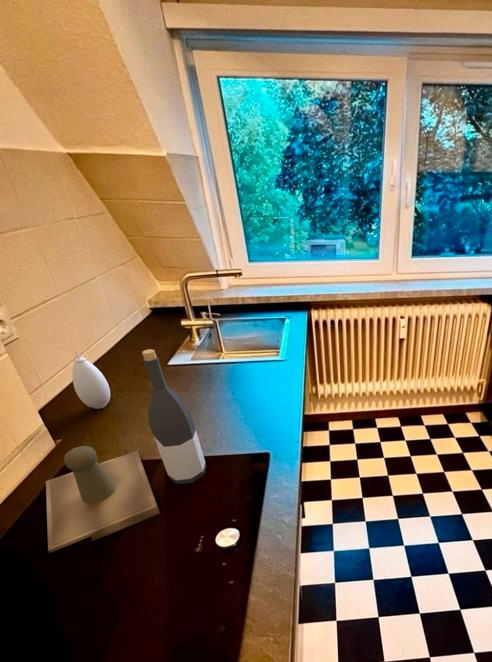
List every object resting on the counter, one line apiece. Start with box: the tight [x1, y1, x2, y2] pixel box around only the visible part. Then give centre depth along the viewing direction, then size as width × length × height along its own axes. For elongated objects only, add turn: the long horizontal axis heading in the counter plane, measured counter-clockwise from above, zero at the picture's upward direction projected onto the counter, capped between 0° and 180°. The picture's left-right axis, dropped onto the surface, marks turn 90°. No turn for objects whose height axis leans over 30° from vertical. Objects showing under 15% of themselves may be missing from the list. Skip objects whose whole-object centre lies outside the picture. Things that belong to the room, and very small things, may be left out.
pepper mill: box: [63, 445, 115, 503], centre depth 77 cm, size 6×6×11 cm
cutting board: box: [45, 450, 161, 553], centre depth 80 cm, size 18×22×2 cm
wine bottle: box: [141, 349, 207, 485], centre depth 80 cm, size 8×8×30 cm
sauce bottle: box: [72, 349, 111, 410], centre depth 107 cm, size 8×8×18 cm
